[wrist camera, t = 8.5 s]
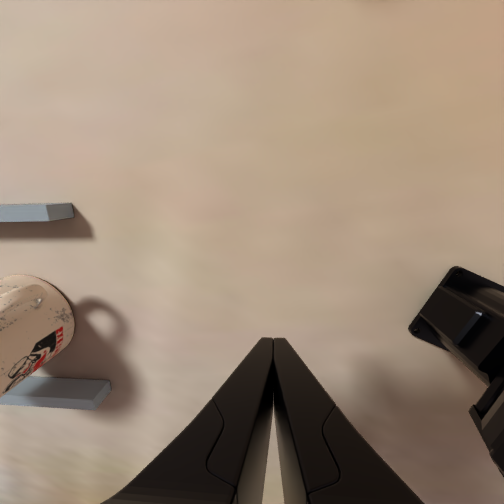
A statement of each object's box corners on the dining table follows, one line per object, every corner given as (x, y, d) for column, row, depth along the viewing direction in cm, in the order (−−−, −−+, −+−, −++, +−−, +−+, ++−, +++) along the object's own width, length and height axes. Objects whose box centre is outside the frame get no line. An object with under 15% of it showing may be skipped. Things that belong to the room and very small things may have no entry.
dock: (71, 202, 21) (45, 205, 18) (111, 389, 26) (95, 410, 23) (-85, 206, 22) (-128, 209, 20) (-19, 383, 27) (-46, 401, 25)
